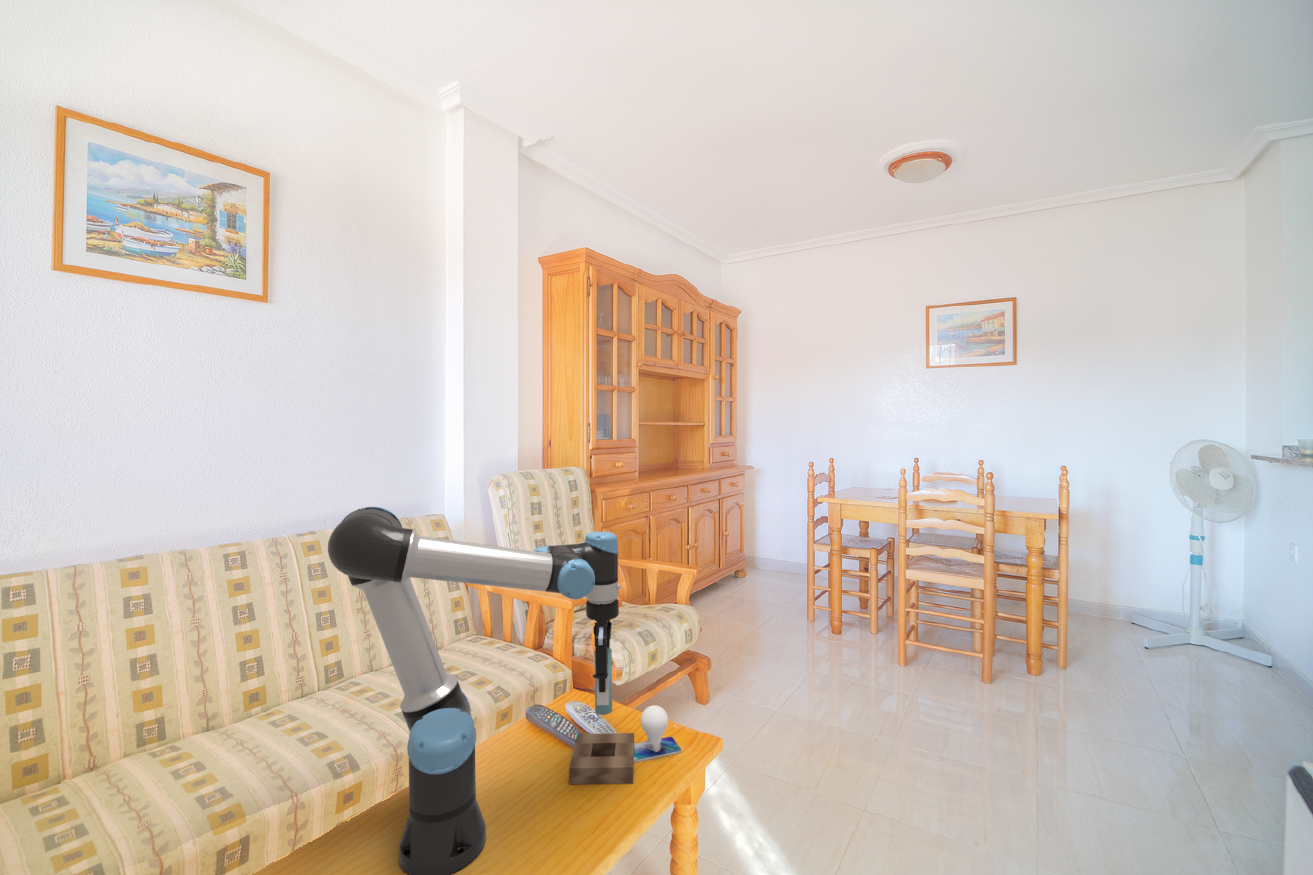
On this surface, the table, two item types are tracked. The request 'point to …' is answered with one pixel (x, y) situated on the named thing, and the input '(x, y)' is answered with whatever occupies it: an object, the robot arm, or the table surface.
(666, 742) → the smartphone
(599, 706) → the peg
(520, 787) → the table surface
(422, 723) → the robot arm
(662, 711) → the light bulb
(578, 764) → the socket block
